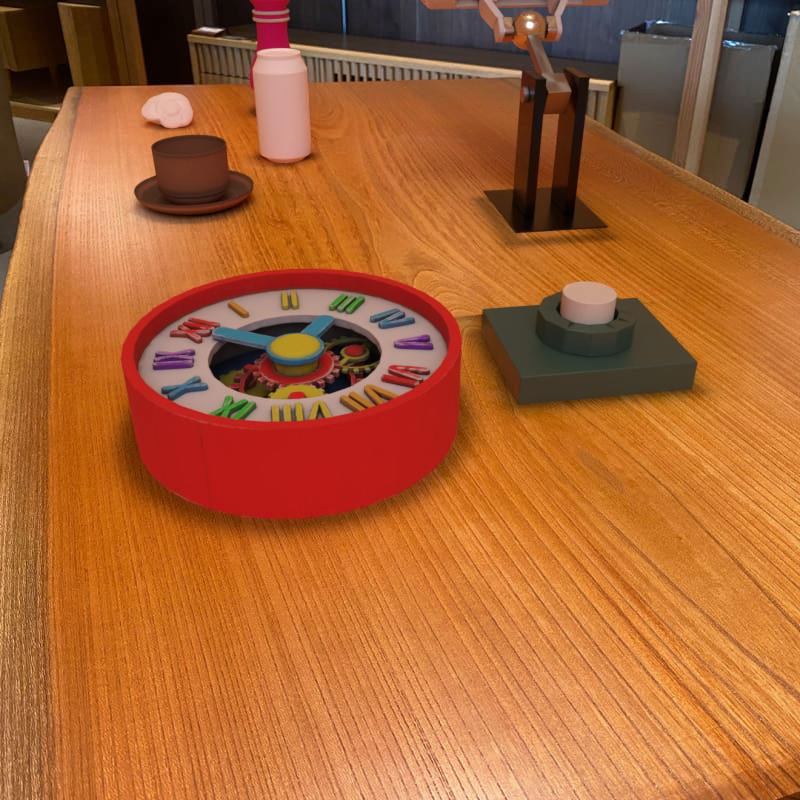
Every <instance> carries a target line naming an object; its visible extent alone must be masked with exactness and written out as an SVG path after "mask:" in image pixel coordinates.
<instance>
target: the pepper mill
mask: <svg viewBox="0 0 800 800" xmlns="http://www.w3.org/2000/svg"><path fill="white" fill-rule="evenodd" d="M290 1H291V0H249V2H250V3H251V5H253V7H254V8H253V9H252V10H251V13H252V21H253V22H255V25H256V34H257V35H256V42H257V43H256V48H255V53H254V56H253V60H252V62H251V66H250V70H249V71H250V72H249V85H250V87H251V89H252V90H253V91H254V82H253V71H252V69H253V67H254V64H255V61H256V59H257V52H258V51H261V50H265V49H274V48H288V49H292V48H291V45H290V42H289V36H288V22H289V21H290V20H291V17H290V14H289V13H290V8H287V6H288V4H289V2H290Z"/></svg>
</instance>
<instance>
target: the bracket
mask: <svg viewBox="0 0 800 800" xmlns="http://www.w3.org/2000/svg"><path fill="white" fill-rule="evenodd" d="M562 73H564V74H565V77H566V79H567V82H568V84H569V86H570V89H571V91H572V92H571V96H570V100H569V103H568V107H567V110H566V114H558V119H557V130H556V140H555V149H554V159H553V170H552V179H551V186H546V187H545V186H544V187H538V180H539V170H540V159H541V157H540V156H541V155H540V154H541V145H542V137H543V136H542V135H543V125H544V115H543V114H544V103H545V92H546V80H547V79H546V78H545V77H543V76H542V75H540V74H539V73H537V72H536V70H535V69H533V68H523V69H521V79H520V91H519V105H518V119H517V130H516V131H517V133H516V143H515V144H516V146H515V159H514V173H513V187H512V188H511V189H510V188H509V189H491V190H489V189H488V190H483V193H484V196H486V197H487V199H488V200H489V201H490V202H491V204H492V205H493V207H494V208H495V209H496V210H497V212H499V214H500V216H501V217H502V218H503V220H505V223H507V224H508V226H509V227H510V228H511V229H512V231H513V232H514V234H525V233H542V232H560V231H576V230H577V231H578V230H591V229H594V230H595V229H605V228H606V229H607V228H608V229H609V225H608V224H606V223H605V222H604V221H603V220H602V219H601V218H600V217H599V216H598V215H597V214H596V213H595V212H594V211H593V210H592V209H590V207H589V206H587V204H585V202H583V201H582V200H581V199H580V198H579V197H578V196H577V193H578V192H577V191H578V184H579V175H580V165H581V158H582V149H583V141H584V140H583V139H584V132H585V123H586V116H587V115H586V114H587V107H588V105H587V104H588V99H589V98H588V96H589V89H590V82H591V81H590V80H591V77H590V76H589V75H587V74H585V73H584V72H582V71H581V70H578V69H577V68H575V67H563V70H562Z"/></svg>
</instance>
